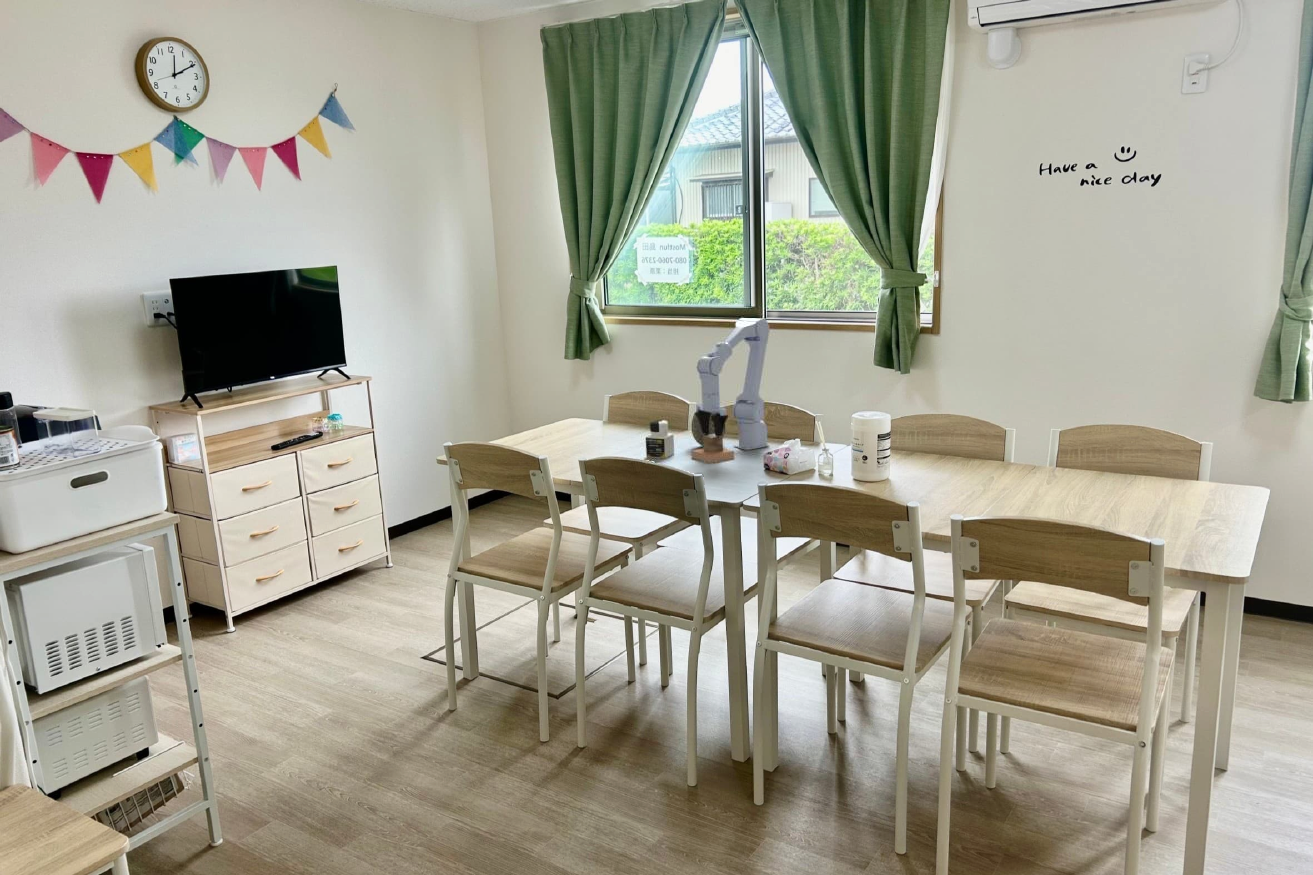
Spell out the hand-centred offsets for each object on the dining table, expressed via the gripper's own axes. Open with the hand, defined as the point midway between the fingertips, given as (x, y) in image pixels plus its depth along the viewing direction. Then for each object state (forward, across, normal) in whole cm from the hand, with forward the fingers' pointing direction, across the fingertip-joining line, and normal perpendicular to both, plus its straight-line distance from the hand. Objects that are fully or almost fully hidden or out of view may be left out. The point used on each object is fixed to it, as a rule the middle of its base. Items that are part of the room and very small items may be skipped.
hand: (712, 434), depth 314 cm
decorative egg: (+8, -15, +9) cm, 19 cm away
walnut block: (+6, 0, 0) cm, 6 cm away
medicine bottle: (+8, -15, -11) cm, 20 cm away
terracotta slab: (+8, 0, 0) cm, 9 cm away
